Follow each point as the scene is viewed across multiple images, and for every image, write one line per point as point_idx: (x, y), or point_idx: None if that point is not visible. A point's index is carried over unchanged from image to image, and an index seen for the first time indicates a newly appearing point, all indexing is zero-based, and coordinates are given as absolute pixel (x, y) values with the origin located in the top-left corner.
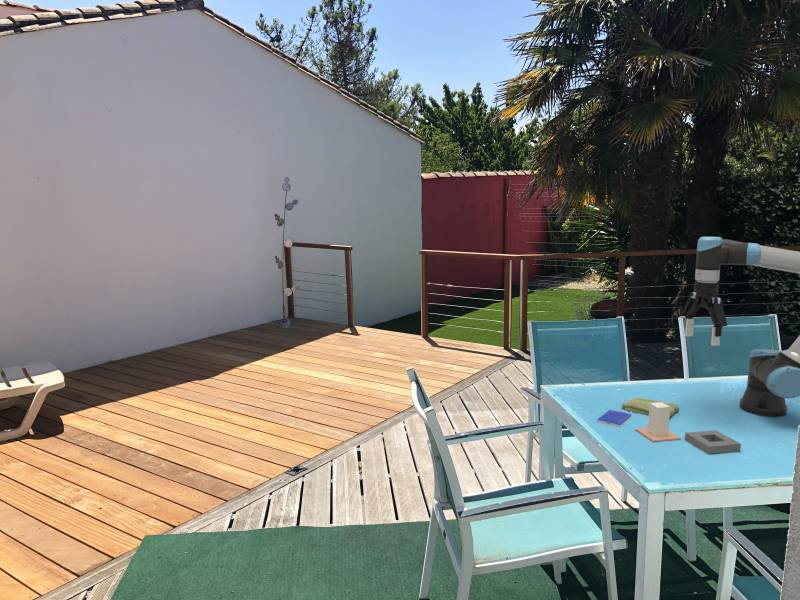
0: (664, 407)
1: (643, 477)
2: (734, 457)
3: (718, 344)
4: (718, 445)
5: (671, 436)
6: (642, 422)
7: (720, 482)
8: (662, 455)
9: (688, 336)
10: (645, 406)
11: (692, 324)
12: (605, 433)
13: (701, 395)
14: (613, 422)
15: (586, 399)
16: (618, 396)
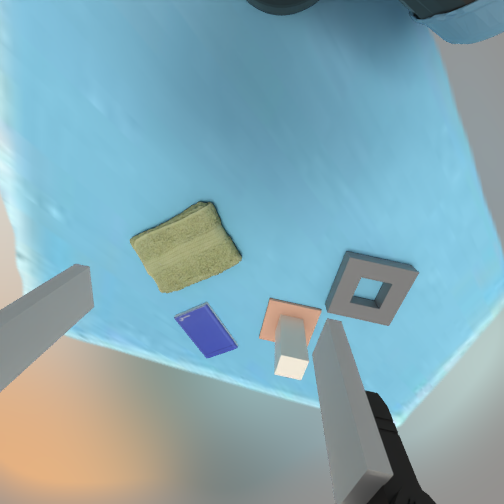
0: (305, 369)
1: None
2: (417, 293)
3: (339, 330)
4: (396, 310)
5: (309, 318)
6: (235, 304)
7: (445, 369)
8: None
9: (92, 295)
10: (190, 272)
11: (8, 335)
12: (250, 373)
13: (122, 24)
14: (227, 350)
15: (109, 306)
16: (100, 245)
